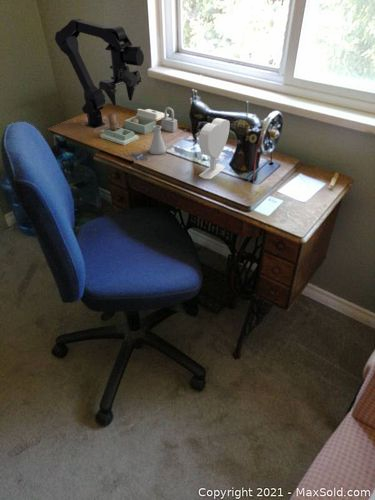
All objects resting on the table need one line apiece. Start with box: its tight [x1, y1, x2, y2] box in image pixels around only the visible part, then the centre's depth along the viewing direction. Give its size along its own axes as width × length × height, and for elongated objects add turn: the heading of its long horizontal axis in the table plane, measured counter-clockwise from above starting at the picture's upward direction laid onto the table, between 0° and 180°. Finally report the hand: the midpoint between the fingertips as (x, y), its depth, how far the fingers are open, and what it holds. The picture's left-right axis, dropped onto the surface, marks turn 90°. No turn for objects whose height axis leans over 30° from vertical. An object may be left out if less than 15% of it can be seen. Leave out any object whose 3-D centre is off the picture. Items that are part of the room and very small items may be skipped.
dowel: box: [107, 113, 118, 132], centre depth 159 cm, size 3×3×8 cm
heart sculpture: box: [198, 117, 231, 180], centre depth 132 cm, size 16×5×18 cm, turn 148°
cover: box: [135, 108, 170, 122], centre depth 171 cm, size 12×8×3 cm
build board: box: [99, 126, 140, 146], centre depth 160 cm, size 14×9×3 cm, turn 53°
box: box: [123, 115, 158, 135], centre depth 168 cm, size 12×8×4 cm, turn 53°
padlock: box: [160, 106, 178, 133], centre depth 166 cm, size 7×4×10 cm, turn 51°
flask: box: [148, 125, 168, 155], centre depth 147 cm, size 7×7×10 cm
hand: (122, 102), depth 160 cm, fingers open, 9 cm apart
